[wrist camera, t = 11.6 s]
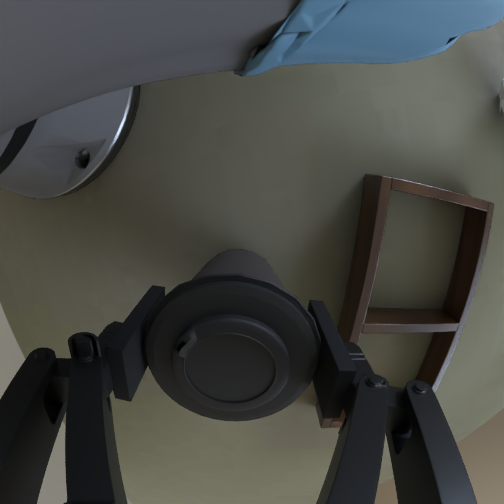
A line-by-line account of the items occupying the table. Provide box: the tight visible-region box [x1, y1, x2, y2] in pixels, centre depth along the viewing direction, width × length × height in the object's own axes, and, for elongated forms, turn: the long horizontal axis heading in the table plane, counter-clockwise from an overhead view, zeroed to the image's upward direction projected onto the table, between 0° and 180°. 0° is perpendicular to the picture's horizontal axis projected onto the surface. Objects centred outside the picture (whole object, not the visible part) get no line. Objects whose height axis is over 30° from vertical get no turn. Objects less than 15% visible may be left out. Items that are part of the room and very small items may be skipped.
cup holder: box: [316, 174, 494, 428], centre depth 22 cm, size 11×22×3 cm, turn 175°
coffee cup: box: [144, 249, 321, 421], centre depth 17 cm, size 8×8×10 cm
